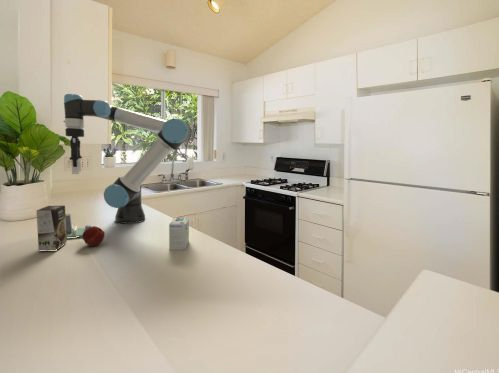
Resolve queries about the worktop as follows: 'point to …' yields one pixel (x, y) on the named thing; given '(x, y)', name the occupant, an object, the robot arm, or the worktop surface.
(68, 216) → the plug
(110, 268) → the worktop surface
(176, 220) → the light bulb box
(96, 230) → the apple
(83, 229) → the board
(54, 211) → the coffee box
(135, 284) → the worktop surface
